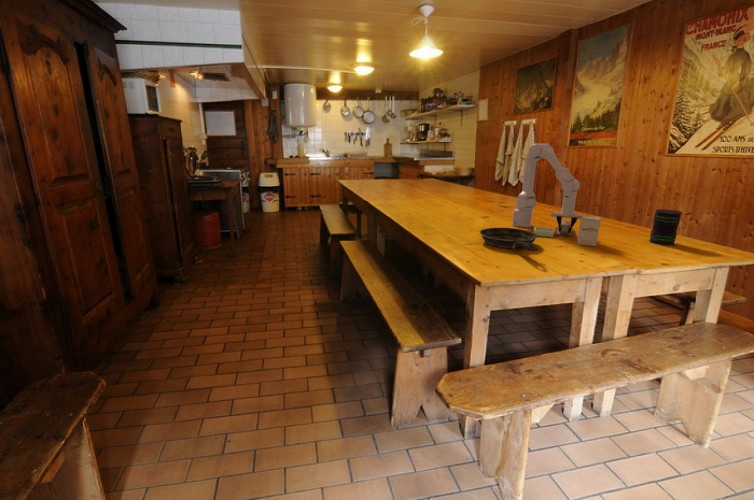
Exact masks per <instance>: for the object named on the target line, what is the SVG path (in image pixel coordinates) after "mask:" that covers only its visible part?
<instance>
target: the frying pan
mask: <svg viewBox="0 0 754 500" xmlns="http://www.w3.org/2000/svg"><path fill="white" fill-rule="evenodd" d="M533 232H534V231H530V230H526V229H521V228H514V227H487V228H484V229H481V230H479V234H480V235H481V238H482V239H483V240H484V242H486V243H487V244H488V245H491V246H494V247H498V248H501V249H503V248H504V249H514V250H519V251H520V250H527V251H529V252H538V250H539V247H537V246H536V245H535V244H533V243H534V242H535V241H536V239H538V237H539V236H537V234H535V233H533Z"/></svg>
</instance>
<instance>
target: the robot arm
mask: <svg viewBox="0 0 754 500" xmlns="http://www.w3.org/2000/svg"><path fill="white" fill-rule="evenodd" d="M541 159H545V160H547V161H548V162H549V164H550V165H551V166H552V168H553V169H554V170H555V176H556V178H557V179H558V181H559V182H560V184H561V189H562V191H563V195H562V196H563V197H562V203H561V211H560V212H557V211H555V212H554V211H551V212H550V217H551V218H552V217H553V218H554V217H555V218H556V222H557V225H558V226H557V227H559V232H560V230H561V221H563V220H562V218H567V219H571V220H570V229H569V233H571V230H572V229H573V228H574V225H575V224H576V222H577V221H578V219H579V220H581V215H582V214H580V213H579V214H578V213H575V208H576V200H577V195H578V191H579V190H580V189H581V182H580V181H579V180H578V179H575V177H574V176H573V175H572V174H571V172H570V168H567V167H564V166H563V165H562V164H561V162H560V160H559V159H558V157H557V156H556V153H555V152H554V148H553V147H552V146H551V144H549V143H547V142H546V143H534V144H532V145H531V146H530V147H529V148H528V153H526V156H525V159H524V170H523V171H524V172H523V178H522V179H523V180H522V181H523V182H522V191H521V192H520V193H519V194H518V196H517V199H516V202H515V205H516V208H514V209H513V216H512V224H511V225H512V226H514V227H521V228H522V227H524V228H531V227H532V218H533V210H534V207H536V205H537V199H536V194H535V192H534V187H535V186H534V185H535V178H536V177H535V176H536V167H537V162H538V161H540V160H541Z"/></svg>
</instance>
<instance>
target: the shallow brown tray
mask: <svg viewBox="0 0 754 500" xmlns="http://www.w3.org/2000/svg"><path fill="white" fill-rule="evenodd" d="M553 236H559V237H570V238H575V228H572V230H571V233H569V235H567V234H560V232H559V226H555V227H554V233H553Z"/></svg>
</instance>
